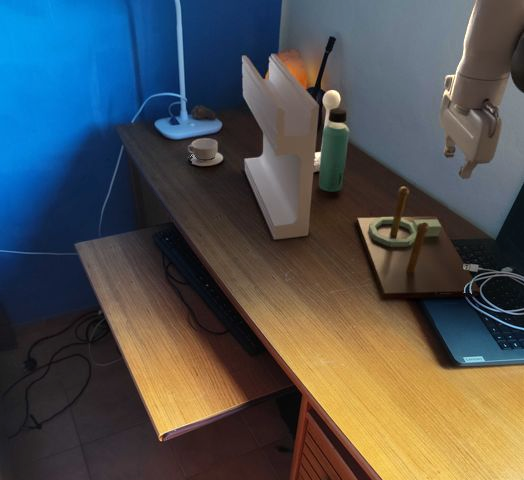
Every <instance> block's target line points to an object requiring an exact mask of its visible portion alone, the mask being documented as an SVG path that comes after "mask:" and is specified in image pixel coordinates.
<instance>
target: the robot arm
mask: <svg viewBox="0 0 524 480" xmlns="http://www.w3.org/2000/svg"><path fill="white" fill-rule="evenodd" d="M510 77H511V80H512V82H513V84H514V86H515V87H516V89H517V90H518V91H520V92H521V93H522V94H524V0H475V4H474V6H473V9H472V12H471V15H470V17H469V22H468V25H467V29H466V33H465V36H464V40H463V53H462V57H461V59H460V62H459V64H458V65H457V68H456V71H455V74H449V75H446V76H445V79H444V83H443V88H444V89H445V90H444V92H443V95H442V99H441V105H440V110H439V117H438V119H439V125H440V127H441V128H442V130H444V132H445V135H444V150H443V155H444V157H445V158H446V159H447V158H454V157H455V155H456V154H455V153H456V150H457V148H458V149H459V150H460V151H461V152H462V153H463V155H464V156H465V158H464V161H465V163H464V165H463V166H460V168H459V172H458V175H459V177H460V178H461V179H463V180H464V179H470V178H471V176H472V173H473V171H474V169H475V168H476V167H477V166H478V165H482V164H483V165H484V164H489V163H491V161H493V159H494V158H495V155H496V152H497V148H498V144H499V140H500V136H501V133H502V128H503V127H502V125H503V123H502V118H501V117H500V115H499V113H500V110H499V108H498V106H500V105H501V103H502V100H503V97H504V95H505V93H506V88H507V86H508V82H509V79H510ZM456 146H457V148H456Z"/></svg>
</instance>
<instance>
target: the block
mask: <svg viewBox="0 0 524 480" xmlns="http://www.w3.org/2000/svg"><path fill="white" fill-rule="evenodd" d="M268 61H269V62H268V78H263V76H261V74H260V72H259V71H258V69H257V68H256V67H255V66H254V64H253V62H252V61H251V59H250V58H249V57H247V55H241V62H242V63H241V76H242V79H241V80H242V97H243V99H244V100H245V103H246V105H247V106H248V108H249V110H250V111H251V114H252V116H253V117H254V119H255V120H256V122H257V124H258V126H259V128H260V130H261V131H262V133H263V134H262V153H261V155H259V156H257V157H248V158H244V159H243V161H244V173H245V175H246V178H247V180H248V182H249V184H250V187H251V189H252V192H253V194H254V196H255V199H256V201H257V204H258V206H259V208H260V211H261V213H262V215H263V218H264V219H265V222H266V224H267V227H268V229H269V231H270V234H271V236H272V239H273V240H282V239H289V238H290V239H291V238H298V237H299V238H300V237H306V236H309V228H310V215H311V205H312V195H313V194H312V192H313V181H314V172H313V171H314V159H315V153H316V147H317V135H318V124H319V110H320V105H319V103H318V102H317V101H316V99H315V98H314V97H313V96H312V95H311V94H310V93H309V92H308V90H307V89H306V88H305V87H304V86H303V85H302V84H301V82H300V81H299V80H298V79H297V77H296V76H295V75H294V74H293V73H292V72H291V71H290V69H289V68H288V67H287V65H285V63H284V62H283V60H282V59H280V57H278V55H277V54H276V53H271V54H270V56H268Z"/></svg>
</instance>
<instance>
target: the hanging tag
mask: <svg viewBox="0 0 524 480" xmlns="http://www.w3.org/2000/svg"><path fill="white" fill-rule="evenodd" d="M377 218H378V219H376V220H375V221H373V222H372V223H371V224H370V225H369V232H370V234H371V237H372V239H373V240H375V241H377V242H380V243H382V244H384V245H386V246H390V247H399V246H409V245H410V244H412V243H413V242H414V241H415V238H416V234H417V225H418V224H419V223H421V222H426V223H427V224H428V225H429V230H428V231H427V232H426V234H425V236H439V233H440V230H441V225H442V224H441V222H440V220H439V219H438V218H437V219H438V220H439V221H438V220H437V219H433V220H414V221H413V223H412V222H409V221H407V220H405V219H402V218H401V221H400V226H402V227H405V228H407V229H409V231H410V233H411V235H410V236H409V237H408V238H406V239H390V238H387V237H385V236H383V235H380V234H378V232H377V230H376V228H377V227H378V226H380V225H381V224H392V223H393V218H394V216H380V217H377ZM439 222H440V223H439ZM440 224H441V225H440Z"/></svg>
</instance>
